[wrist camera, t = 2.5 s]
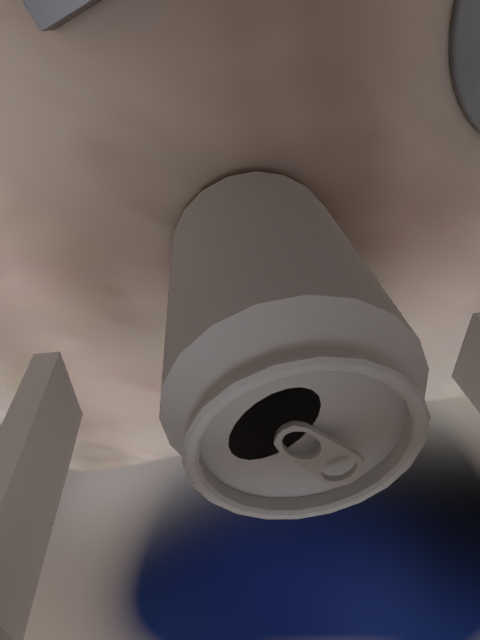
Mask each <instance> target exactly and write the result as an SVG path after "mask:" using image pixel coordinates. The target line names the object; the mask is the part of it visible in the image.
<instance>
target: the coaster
mask: <svg viewBox="0 0 480 640" xmlns="http://www.w3.org/2000/svg"><path fill="white" fill-rule="evenodd" d="M449 59H450V72H451V77H452V82H453V88H454V91H455V94H456V97H457V100H458V102H459V105H460V107H461V109H462V111H463V112H464V114H465V116H466V118H467V119H468V121H469V122H470V123H471V124H472V126H473V127H474V128H475V129H476V130H477V131H478V132H479V133H480V0H455V2H454V7H453V13H452V19H451V25H450V40H449Z"/></svg>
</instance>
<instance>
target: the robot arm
mask: <svg viewBox="0 0 480 640" xmlns="http://www.w3.org/2000/svg"><path fill="white" fill-rule="evenodd" d="M452 377H453V379H454V380H455V381H456V383H457V384H458V385H459V387H460V388H461V389H462V391H463V392H464V393H465V395H466V396H467V397H468V398H469V400H470V401H471V402H472V404H473V405H474V406H475V408H476V409H477V410H478V412H479V413H480V313H473V315H472V318H471V321H470V324H469V326H468V329H467V332H466V335H465V338H464V341H463V344H462V347H461V350H460V353H459V356H458V359H457V361H456V364H455V367H454V370H453V373H452ZM82 415H83V414H82V411H81V408H80V406H79V403H78V400H77V397H76V395H75V392H74V389H73V386H72V384H71V381H70V378H69V375H68V373H67V370H66V367H65V364H64V362H63V359H62V356H61V353H60V352H51V353H41V354H34V355H33V357H32V359H31V362H30V364H29V366H28V368H27V370H26V373H25V375H24V377H23V379H22V381H21V383H20V386H19V388H18V390H17V392H16V394H15V396H14V399H13V401H12V403H11V405H10V407H9V409H8V412H7V414H6V416H5V418H4V420H3V423H2V425H1V427H0V640H23V638H24V635H25V631H26V627H27V623H28V619H29V616H30V612H31V608H32V604H33V600H34V597H35V593H36V589H37V585H38V581H39V578H40V574H41V570H42V566H43V562H44V558H45V555H46V551H47V547H48V543H49V540H50V536H51V532H52V528H53V525H54V520H55V517H56V513H57V509H58V505H59V501H60V498H61V494H62V490H63V487H64V483H65V479H66V475H67V471H68V468H69V464H70V460H71V456H72V452H73V449H74V445H75V441H76V437H77V433H78V430H79V426H80V422H81V418H82Z"/></svg>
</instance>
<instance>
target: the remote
mask: <svg viewBox="0 0 480 640" xmlns="http://www.w3.org/2000/svg"><path fill="white" fill-rule="evenodd" d="M22 1H23V3H24V4H25V6H26V8H27V9H28V11H29V12H30V14H31V16H32V17H33V19H34V20H35V22H36V24H37V25H38V27H39V28H40V30H41V31H48V30H55V29H56V28H58V27H59V26H61V25H63V24H64V23H66V22H67V21H69V20H71V19H72V18H74V17H76V16H77V15H79V14H80V13H82V12H84V11H85V10H87V9H88V8H90V7H92V6H93V5H95V4H97V3H98V2H100V1H101V0H22Z"/></svg>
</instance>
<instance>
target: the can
mask: <svg viewBox="0 0 480 640" xmlns="http://www.w3.org/2000/svg"><path fill="white" fill-rule="evenodd" d="M428 371H429V368H428V365H427V362H426V359H425V355H424V352H423V349H422V346H421V343H420V340H419V338H418V337H417V336H416V334H415V333H414V331H413V330H412V329H411V327H410V326H409V324H408V323H407V321H406V320H405V319H404V317H403V316H402V314H401V313H400V312H399V310H398V309H397V307H396V306H395V305H394V303H393V302H392V300H391V299H390V298H389V296H388V295H387V293H386V292H385V290H384V289H383V288H382V286H381V285H380V283H379V282H378V281H377V279H376V278H375V276H374V275H373V274H372V272H371V271H370V269H369V268H368V267H367V265H366V264H365V262H364V261H363V259H362V258H361V257H360V255H359V254H358V252H357V251H356V250H355V248H354V247H353V245H352V244H351V243H350V241H349V240H348V238H347V237H346V236H345V234H344V233H343V231H342V230H341V229H340V227H339V226H338V224H337V223H336V221H335V220H334V219H333V217H332V216H331V214H330V213H329V212H328V210H327V209H326V207H325V206H324V205H323V204H322V203H321V202H320V200H319V199H318V198H317V197H316V196H315V195H314V194H313V193H312V192H311V191H310V190H309V189H308V187H306V186H304V185H302V184H300V183H298V182H296V181H294V180H292V179H290V178H288V177H286V176H284V175H280V174H272V173H265V172H257V171H254V172H249V173H244V174H239V175H233V176H228V177H226V178H224V179H222V180H220V181H218V182H217V183H215V184H213V185H211V186H209V187H208V188H206V189H204V190H202V191H201V192H200V193H199V194H198V196H197V197H196V198H195V199H194V200H193V201H192V202H191V203H190V204H189V205H188V206H187V207H186V208H185V210H184V211H183V213H182V215H181V218H180V220H179V222H178V224H177V227H176V229H175V231H174V233H173V243H172V256H171V269H170V282H169V295H168V308H167V321H166V334H165V347H164V360H163V373H162V386H161V401H160V416H159V419H160V421H161V424H162V426H163V428H164V431H165V433H166V436H167V438H168V441H169V443H170V445H171V446H172V447H173V448H174V449H175V450H176V451H177V452H178V453H179V454H180V455H181V456H182V464H183V466H184V469H185V471H186V474H187V476H188V479H189V481H190V484H191V485H192V486H194V487H195V488H196V489H197V490H198V491H199V492H200V493H201V494H202V495H204V497H205V498H206V499H208V500H209V501H210V502H212V503H214V504H216V505H218V506H221V507H223V508H225V509H227V510H230V511H232V512H234V513H236V514H241V515H247V516H251V517H258V518H263V519H300V518H305V517H311V516H317V515H322V514H328V513H332V512H335V511H338V510H340V509H343V508H346V507H349V506H351V505H354V504H357V503H360V502H362V501H364V500H365V499H367V498H369V497H371V496H373V495H374V494H376V493H378V492H379V491H381V490H383V489H385V488H387V487H388V486H389V485H390V484H391V483H393V482H394V481H395V480H396V479H397V478H398V477H399V476H401V475H402V473H404V472H405V471H406V470H407V469H408V468H409V467H410V466H411V465H412V463H413V461H414V460H415V458H416V457H417V455H418V453H419V452H420V450H421V448H422V447H423V445H424V444H425V442H426V439H427V433H428V427H429V421H430V414H429V411H428V408H427V405H426V403H425V400H424V398H425V391H426V385H427V378H428Z"/></svg>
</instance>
